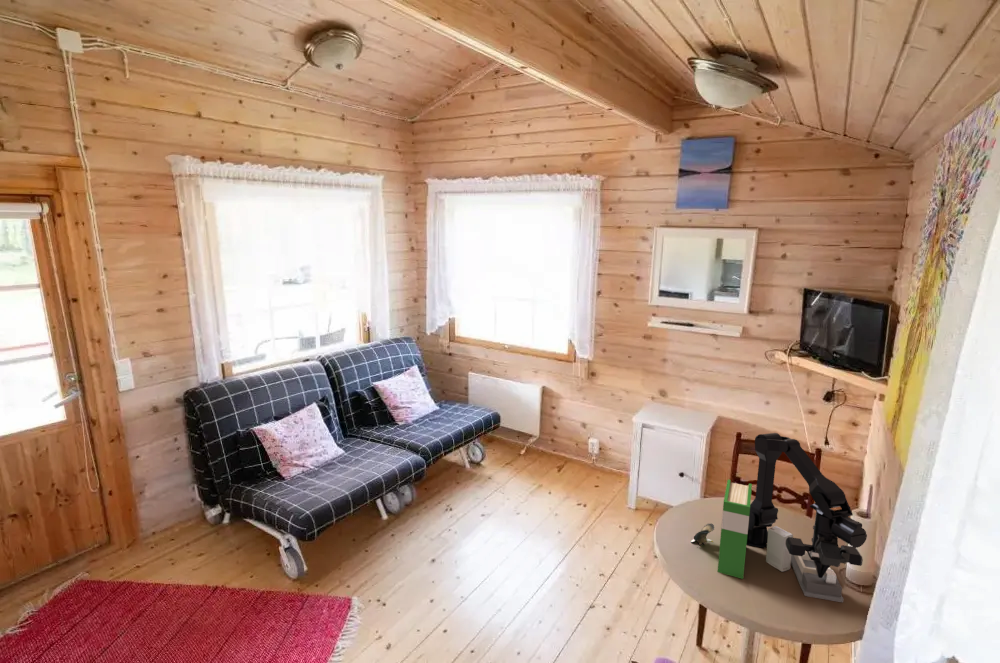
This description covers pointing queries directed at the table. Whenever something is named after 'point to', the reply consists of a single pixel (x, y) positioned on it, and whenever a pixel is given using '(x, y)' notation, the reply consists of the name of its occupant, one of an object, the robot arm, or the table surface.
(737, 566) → the hardback book
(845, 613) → the table surface
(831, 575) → the breaker handle
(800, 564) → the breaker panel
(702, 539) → the eagle figurine
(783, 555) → the skincare box
